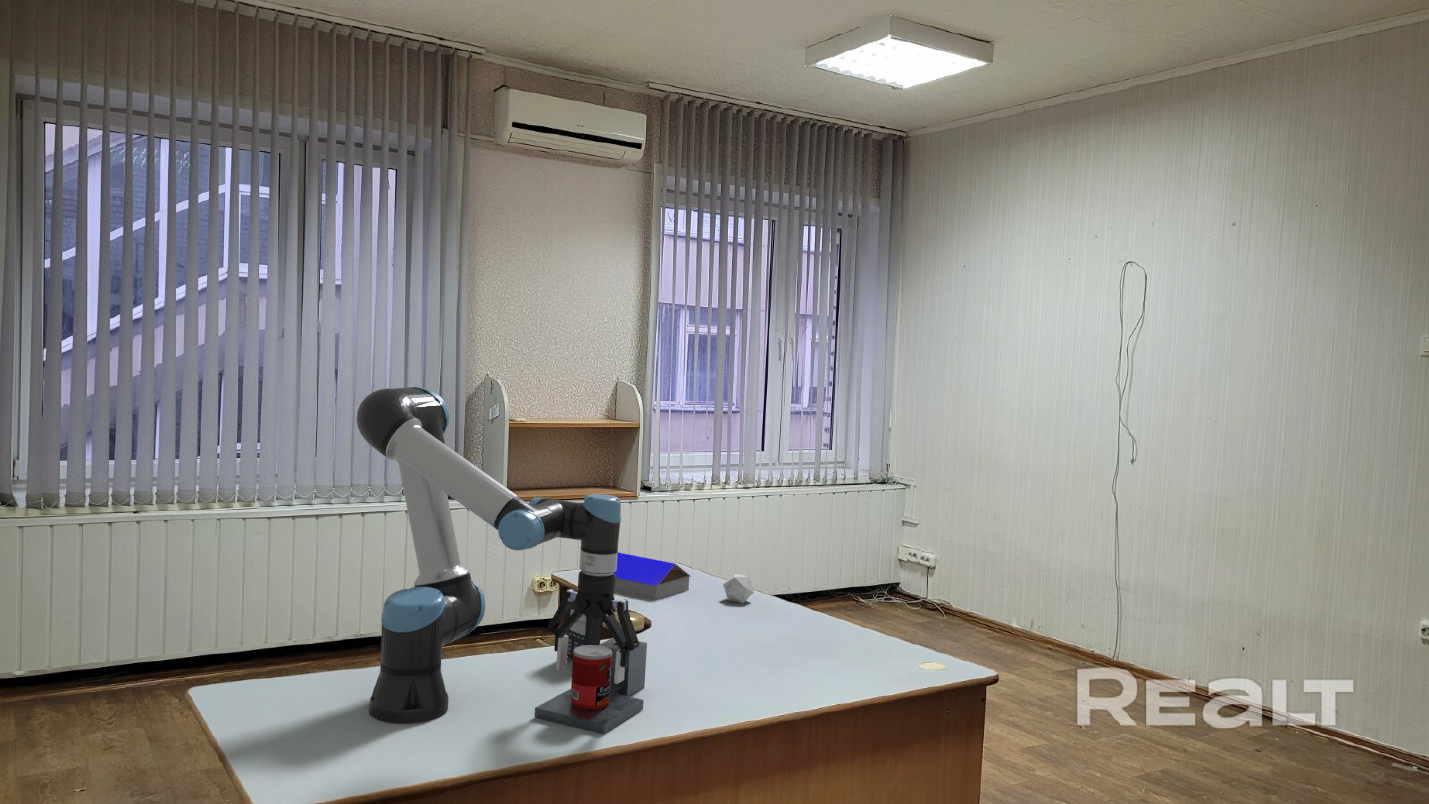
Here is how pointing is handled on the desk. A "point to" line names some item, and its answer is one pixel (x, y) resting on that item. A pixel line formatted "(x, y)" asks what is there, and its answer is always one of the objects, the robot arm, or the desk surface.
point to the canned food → (591, 677)
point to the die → (738, 588)
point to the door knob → (636, 620)
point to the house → (649, 577)
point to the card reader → (582, 631)
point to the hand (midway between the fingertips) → (589, 674)
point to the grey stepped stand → (618, 704)
